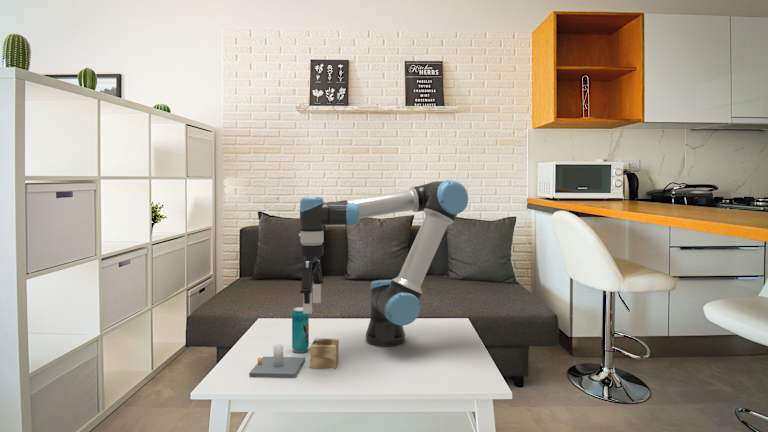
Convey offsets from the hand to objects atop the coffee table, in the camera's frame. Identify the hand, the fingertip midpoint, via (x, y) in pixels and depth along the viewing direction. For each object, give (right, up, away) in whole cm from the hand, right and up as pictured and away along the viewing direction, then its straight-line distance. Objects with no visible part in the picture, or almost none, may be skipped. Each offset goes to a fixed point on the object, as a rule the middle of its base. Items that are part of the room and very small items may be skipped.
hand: (312, 308), depth 149 cm
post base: (-10, -18, -6) cm, 21 cm away
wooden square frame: (+4, -18, -1) cm, 18 cm away
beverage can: (-6, -18, +11) cm, 22 cm away
